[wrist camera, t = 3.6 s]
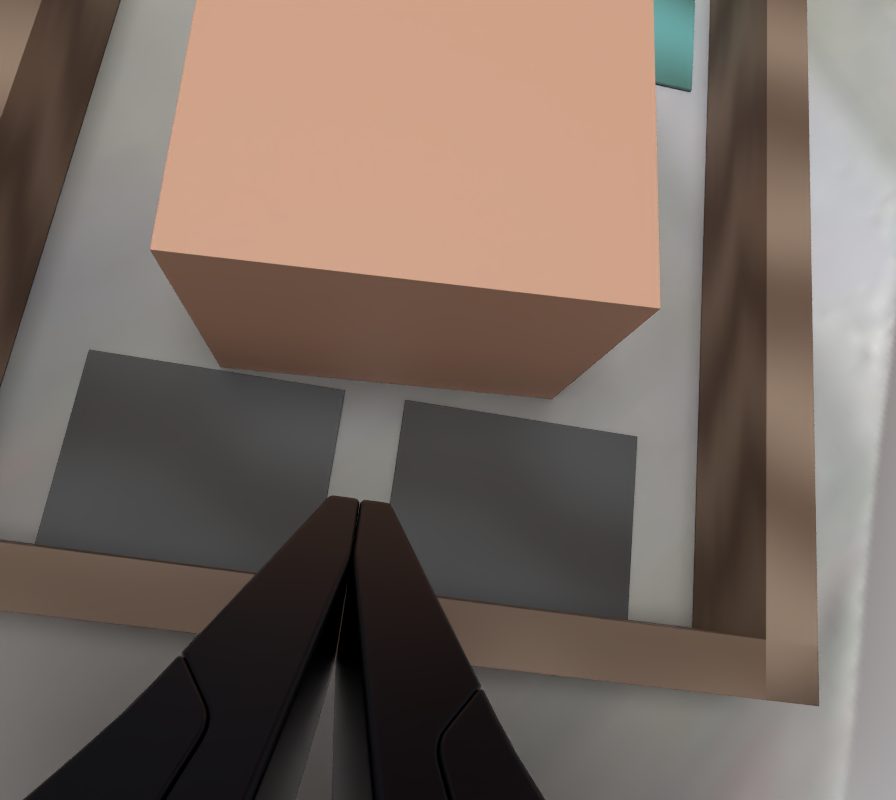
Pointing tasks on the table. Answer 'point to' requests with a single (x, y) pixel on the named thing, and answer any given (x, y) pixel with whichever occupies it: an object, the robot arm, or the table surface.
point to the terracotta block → (415, 188)
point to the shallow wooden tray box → (456, 419)
